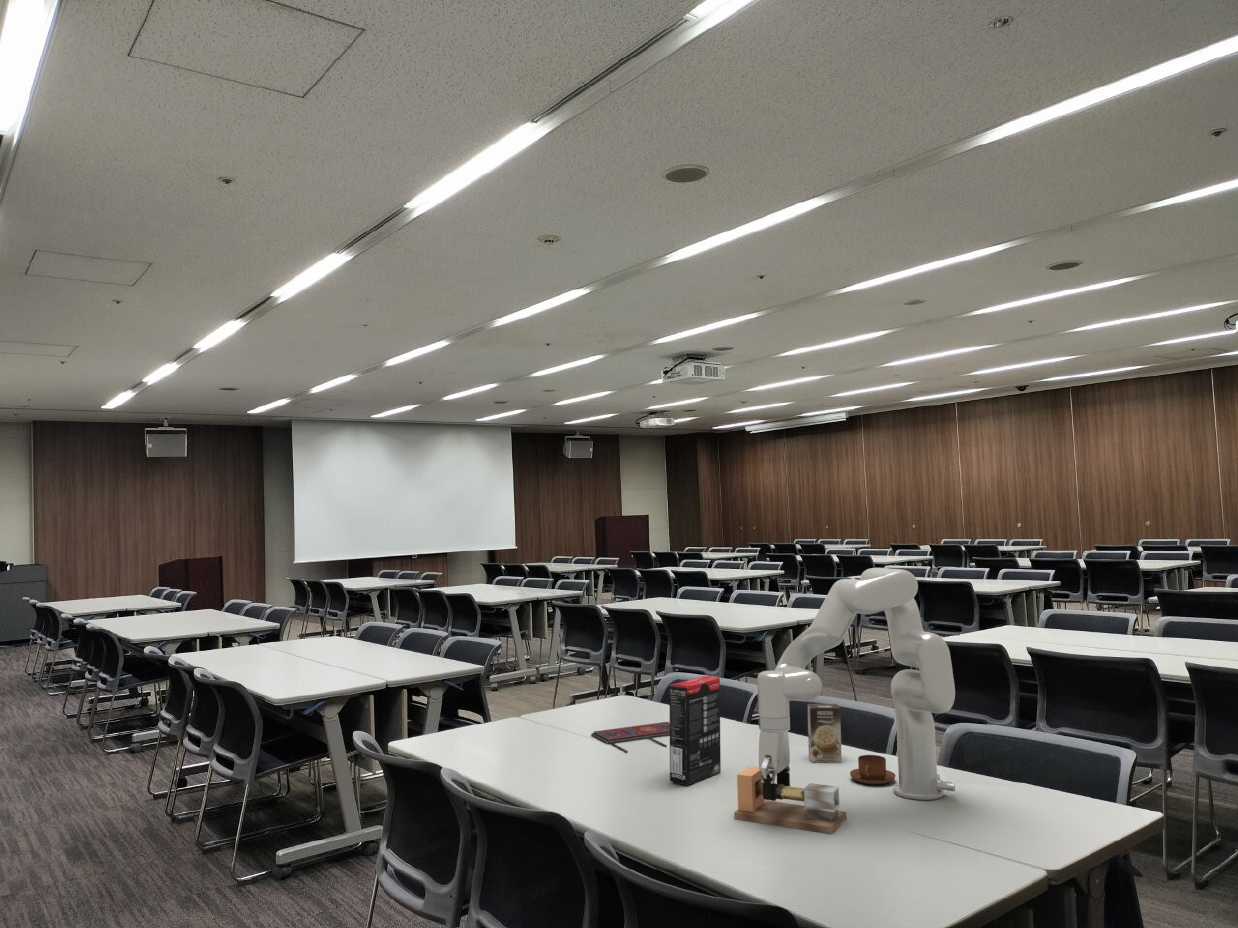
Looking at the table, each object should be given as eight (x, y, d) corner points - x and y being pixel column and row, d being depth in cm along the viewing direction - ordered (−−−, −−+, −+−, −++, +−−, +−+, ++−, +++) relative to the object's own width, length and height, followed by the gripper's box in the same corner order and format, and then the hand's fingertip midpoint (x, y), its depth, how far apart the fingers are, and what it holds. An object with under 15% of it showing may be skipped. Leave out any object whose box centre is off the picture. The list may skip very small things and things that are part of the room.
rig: (846, 817, 209) (845, 782, 209) (832, 833, 198) (830, 796, 199) (752, 804, 221) (751, 770, 221) (734, 818, 210) (733, 783, 211)
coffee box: (811, 762, 257) (808, 707, 258) (808, 756, 264) (806, 703, 265) (842, 762, 256) (840, 707, 257) (839, 757, 263) (837, 703, 264)
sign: (706, 736, 286) (623, 748, 273) (706, 743, 285) (624, 755, 273) (668, 720, 310) (590, 731, 297) (668, 726, 309) (590, 737, 297)
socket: (764, 802, 217) (763, 767, 218) (752, 812, 210) (751, 776, 211) (750, 800, 219) (749, 766, 220) (738, 809, 212) (737, 774, 213)
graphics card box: (703, 768, 254) (700, 674, 256) (723, 772, 249) (720, 676, 251) (669, 783, 240) (666, 683, 242) (689, 787, 236) (686, 685, 238)
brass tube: (815, 801, 208) (814, 786, 209) (810, 805, 205) (810, 790, 206) (750, 792, 217) (750, 778, 217) (745, 796, 214) (745, 781, 214)
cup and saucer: (898, 788, 231) (896, 764, 232) (851, 786, 234) (850, 763, 234) (893, 775, 243) (892, 753, 243) (849, 774, 245) (848, 751, 246)
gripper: (771, 714, 222) (774, 782, 221) (746, 728, 207) (749, 802, 206) (800, 716, 218) (803, 786, 217) (776, 731, 203) (779, 806, 202)
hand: (776, 794), depth 211 cm, fingers open, 9 cm apart
